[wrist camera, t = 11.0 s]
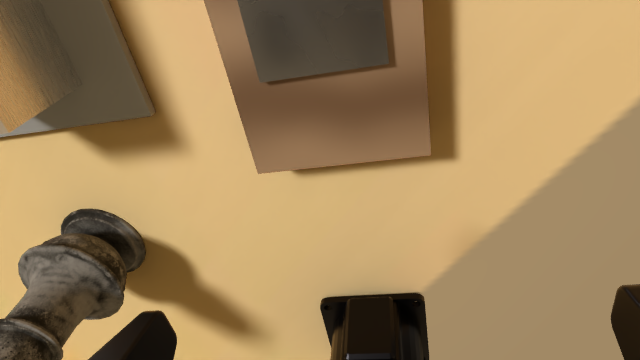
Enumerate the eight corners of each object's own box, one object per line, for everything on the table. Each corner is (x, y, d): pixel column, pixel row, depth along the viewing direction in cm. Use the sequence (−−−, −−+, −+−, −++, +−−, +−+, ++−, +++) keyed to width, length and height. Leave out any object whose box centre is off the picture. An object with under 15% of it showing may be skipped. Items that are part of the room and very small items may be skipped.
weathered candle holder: (118, 196, 25) (-52, 400, 15) (166, 268, 28) (51, 478, 18) (37, 214, 26) (-167, 410, 16) (92, 280, 29) (-53, 481, 19)
